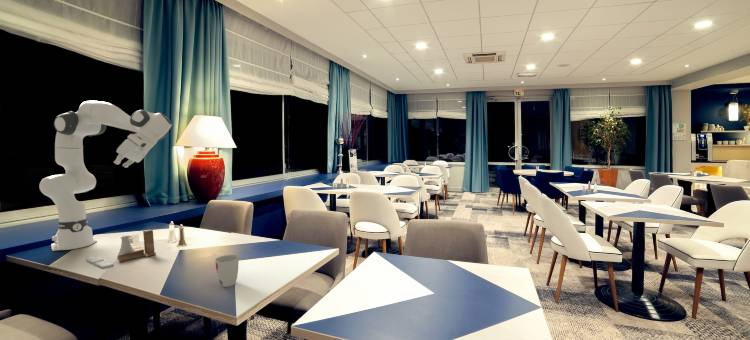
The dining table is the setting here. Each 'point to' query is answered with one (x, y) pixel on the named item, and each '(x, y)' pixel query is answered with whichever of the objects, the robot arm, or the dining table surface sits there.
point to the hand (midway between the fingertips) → (119, 165)
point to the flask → (125, 246)
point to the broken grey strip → (99, 262)
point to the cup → (227, 269)
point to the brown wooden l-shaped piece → (139, 250)
